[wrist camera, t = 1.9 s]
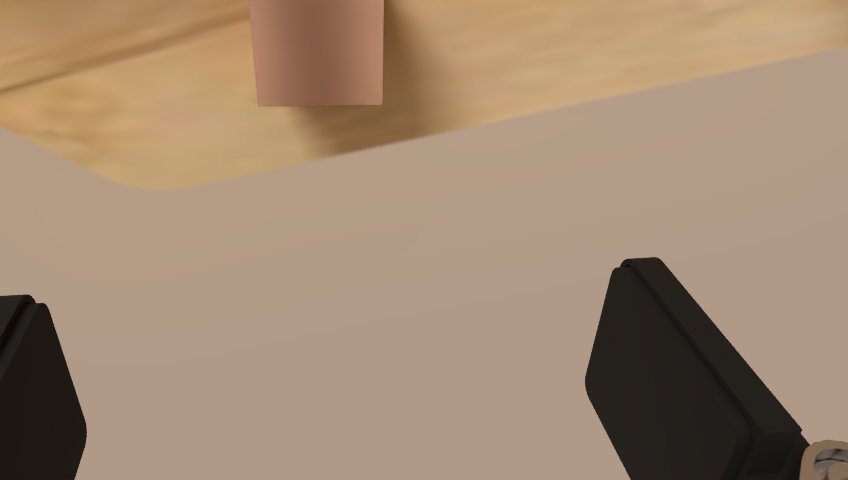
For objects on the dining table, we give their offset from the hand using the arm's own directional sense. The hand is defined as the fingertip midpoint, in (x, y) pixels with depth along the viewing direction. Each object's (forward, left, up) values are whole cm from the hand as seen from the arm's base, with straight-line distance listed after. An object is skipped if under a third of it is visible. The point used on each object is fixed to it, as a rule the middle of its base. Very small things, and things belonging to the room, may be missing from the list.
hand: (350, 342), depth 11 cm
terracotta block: (0, 0, -23) cm, 23 cm away
